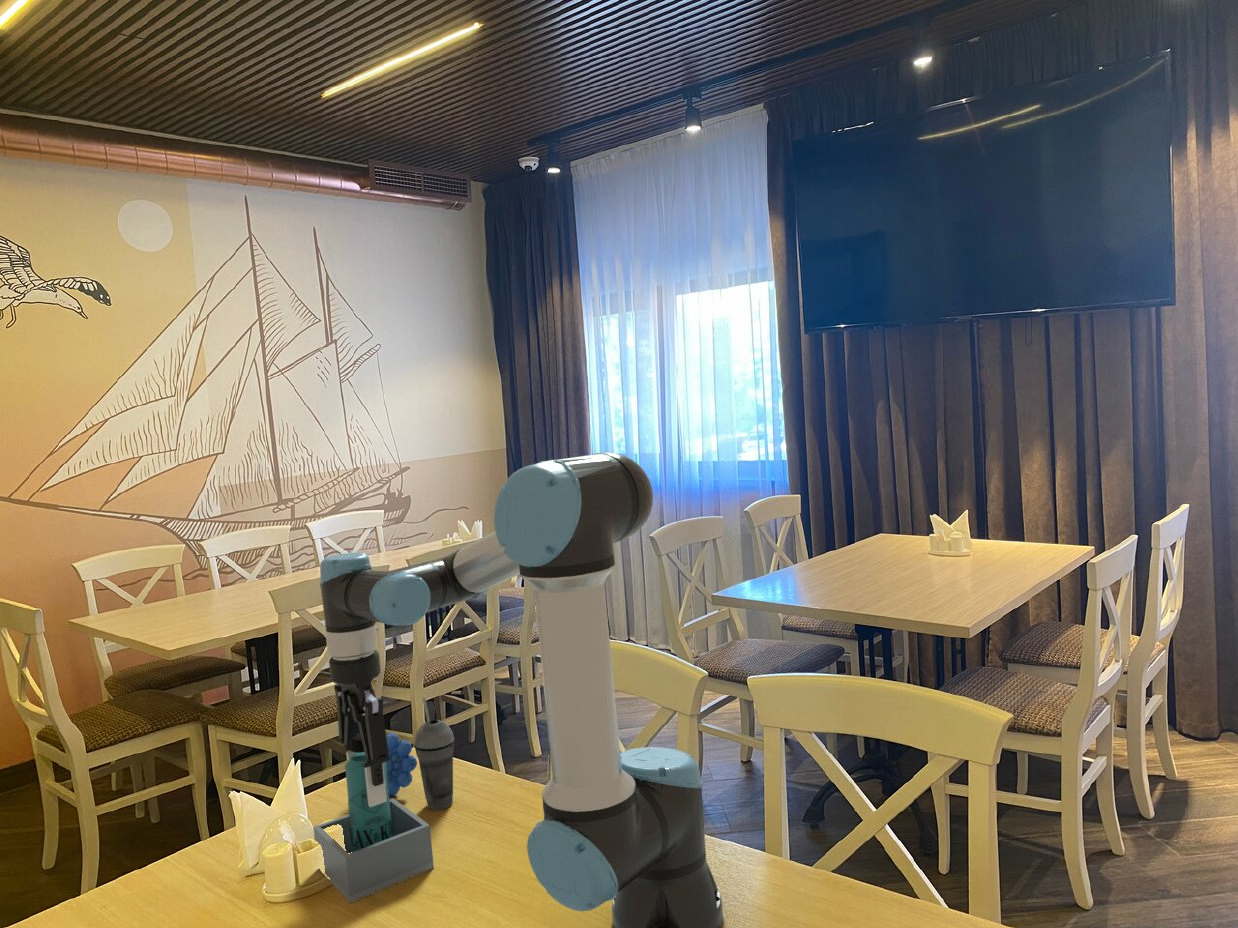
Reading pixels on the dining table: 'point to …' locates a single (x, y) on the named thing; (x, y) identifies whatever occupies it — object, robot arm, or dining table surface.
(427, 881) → the dining table surface
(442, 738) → the beverage cup
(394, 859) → the crate
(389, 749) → the grapes
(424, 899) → the dining table surface
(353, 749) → the beverage bottle
